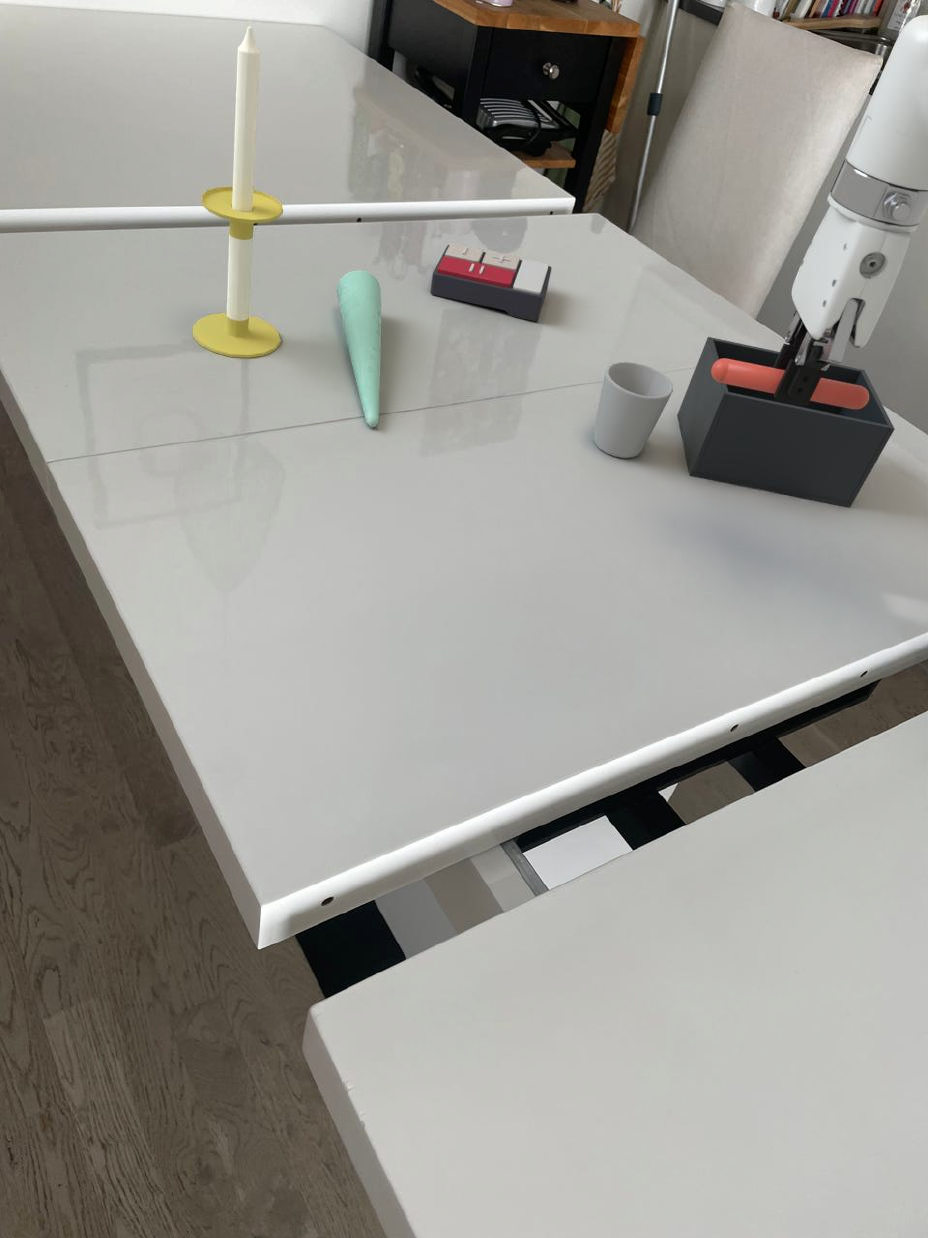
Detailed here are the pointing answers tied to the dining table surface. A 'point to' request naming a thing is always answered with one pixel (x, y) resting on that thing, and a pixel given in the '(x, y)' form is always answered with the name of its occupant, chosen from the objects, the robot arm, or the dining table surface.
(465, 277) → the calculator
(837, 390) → the red rod
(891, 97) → the robot arm
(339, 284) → the long green cone
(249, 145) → the candle
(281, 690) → the dining table surface
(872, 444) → the bin
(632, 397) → the cup
